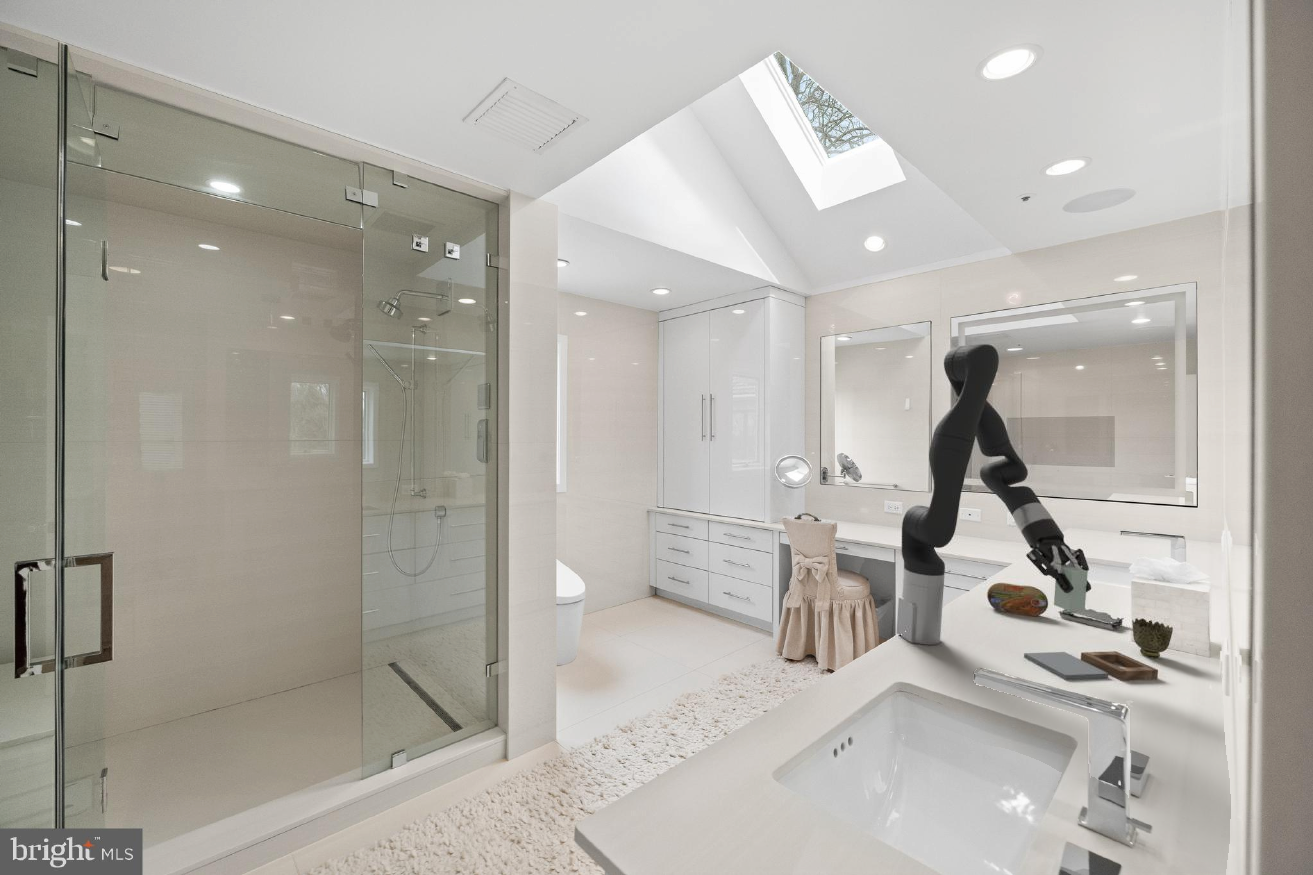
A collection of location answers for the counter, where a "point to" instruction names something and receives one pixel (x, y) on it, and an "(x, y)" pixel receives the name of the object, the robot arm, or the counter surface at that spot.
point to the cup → (1151, 637)
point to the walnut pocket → (1132, 671)
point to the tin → (1017, 599)
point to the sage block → (1077, 595)
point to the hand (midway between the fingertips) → (1078, 590)
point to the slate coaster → (1065, 665)
